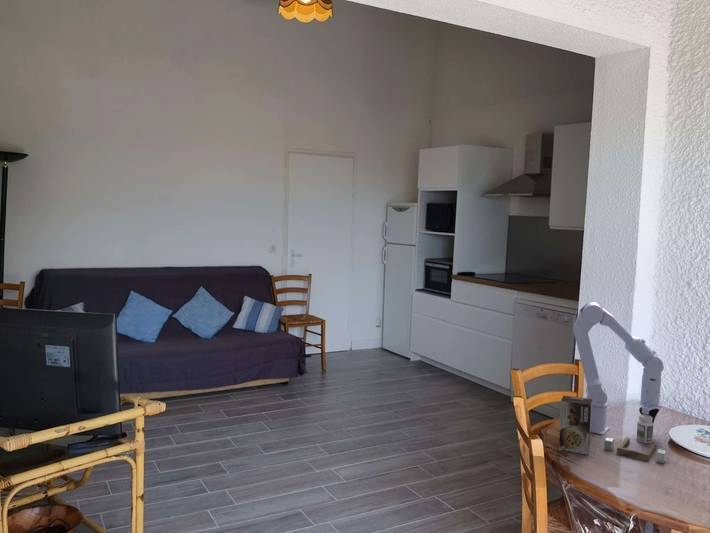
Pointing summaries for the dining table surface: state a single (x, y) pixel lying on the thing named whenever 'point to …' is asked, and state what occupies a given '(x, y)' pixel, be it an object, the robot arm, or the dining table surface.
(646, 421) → the pill bottle
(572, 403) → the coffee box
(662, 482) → the dining table surface
